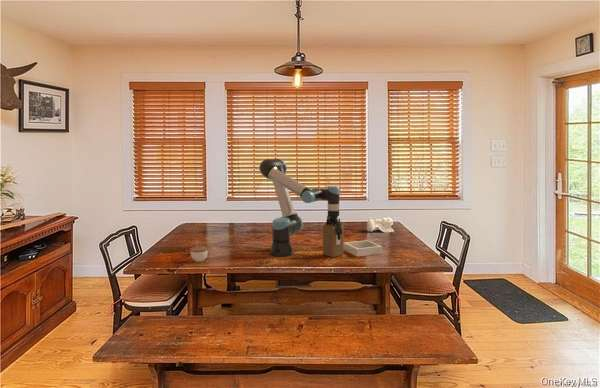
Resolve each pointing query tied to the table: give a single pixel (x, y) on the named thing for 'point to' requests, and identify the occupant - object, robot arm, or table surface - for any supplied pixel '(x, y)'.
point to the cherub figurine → (381, 225)
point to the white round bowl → (199, 253)
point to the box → (362, 248)
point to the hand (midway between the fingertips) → (333, 242)
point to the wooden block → (332, 241)
